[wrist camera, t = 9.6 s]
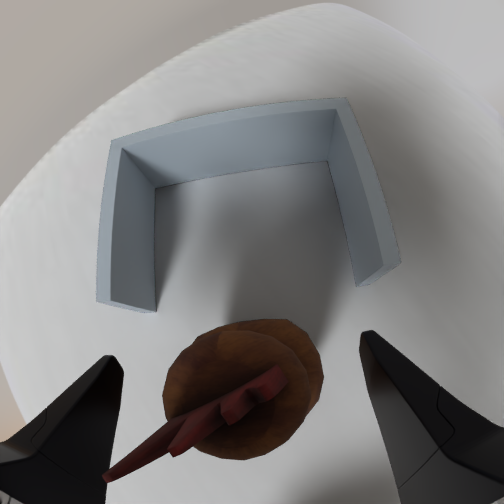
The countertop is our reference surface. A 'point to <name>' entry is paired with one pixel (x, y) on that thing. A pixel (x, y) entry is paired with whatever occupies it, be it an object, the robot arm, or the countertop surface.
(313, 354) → the wooden figurine
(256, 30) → the countertop surface
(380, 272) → the cubby
